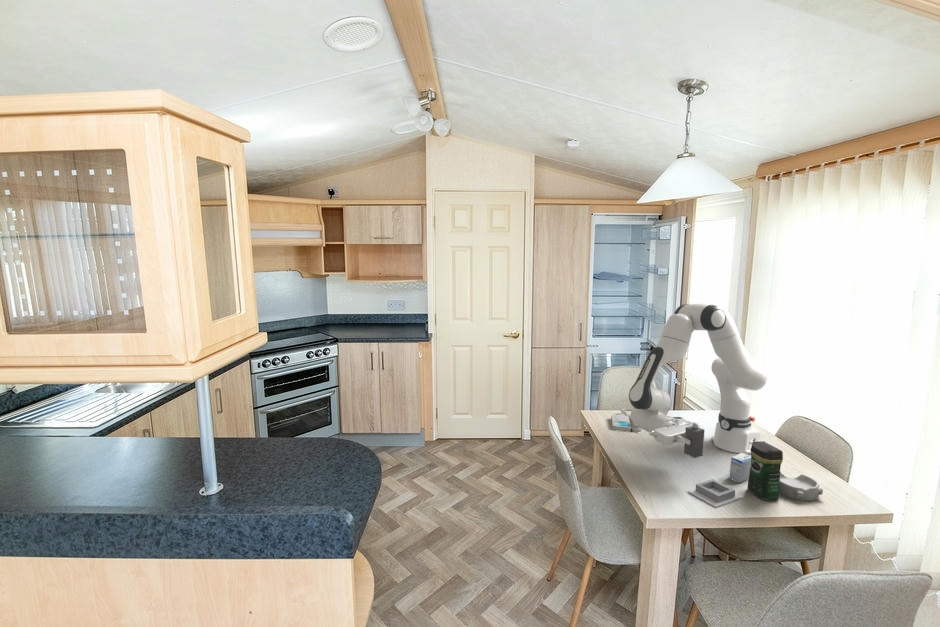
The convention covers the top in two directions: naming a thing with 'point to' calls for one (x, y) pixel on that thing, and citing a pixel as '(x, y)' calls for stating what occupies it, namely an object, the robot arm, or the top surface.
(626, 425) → the intercom
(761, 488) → the coffee jar
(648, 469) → the top surface
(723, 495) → the socket plate
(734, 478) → the medicine box
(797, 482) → the dish
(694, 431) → the plug
